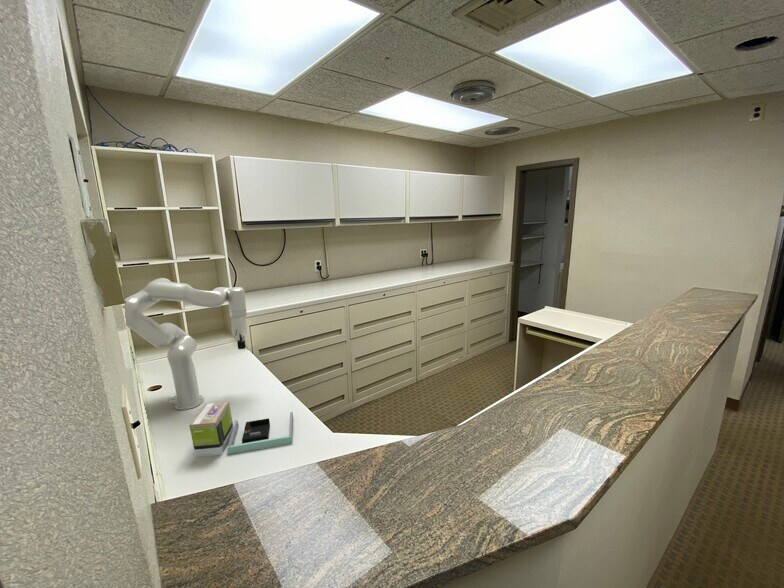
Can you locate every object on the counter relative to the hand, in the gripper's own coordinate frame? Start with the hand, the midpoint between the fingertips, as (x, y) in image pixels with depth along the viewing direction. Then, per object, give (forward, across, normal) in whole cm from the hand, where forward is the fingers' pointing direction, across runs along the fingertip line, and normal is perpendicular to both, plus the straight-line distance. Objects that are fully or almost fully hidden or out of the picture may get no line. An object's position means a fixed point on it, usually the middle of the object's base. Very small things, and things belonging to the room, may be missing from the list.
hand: (241, 348), depth 175 cm
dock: (+25, +36, +13) cm, 46 cm away
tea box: (+26, +38, -5) cm, 47 cm away
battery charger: (+26, +37, +11) cm, 46 cm away
